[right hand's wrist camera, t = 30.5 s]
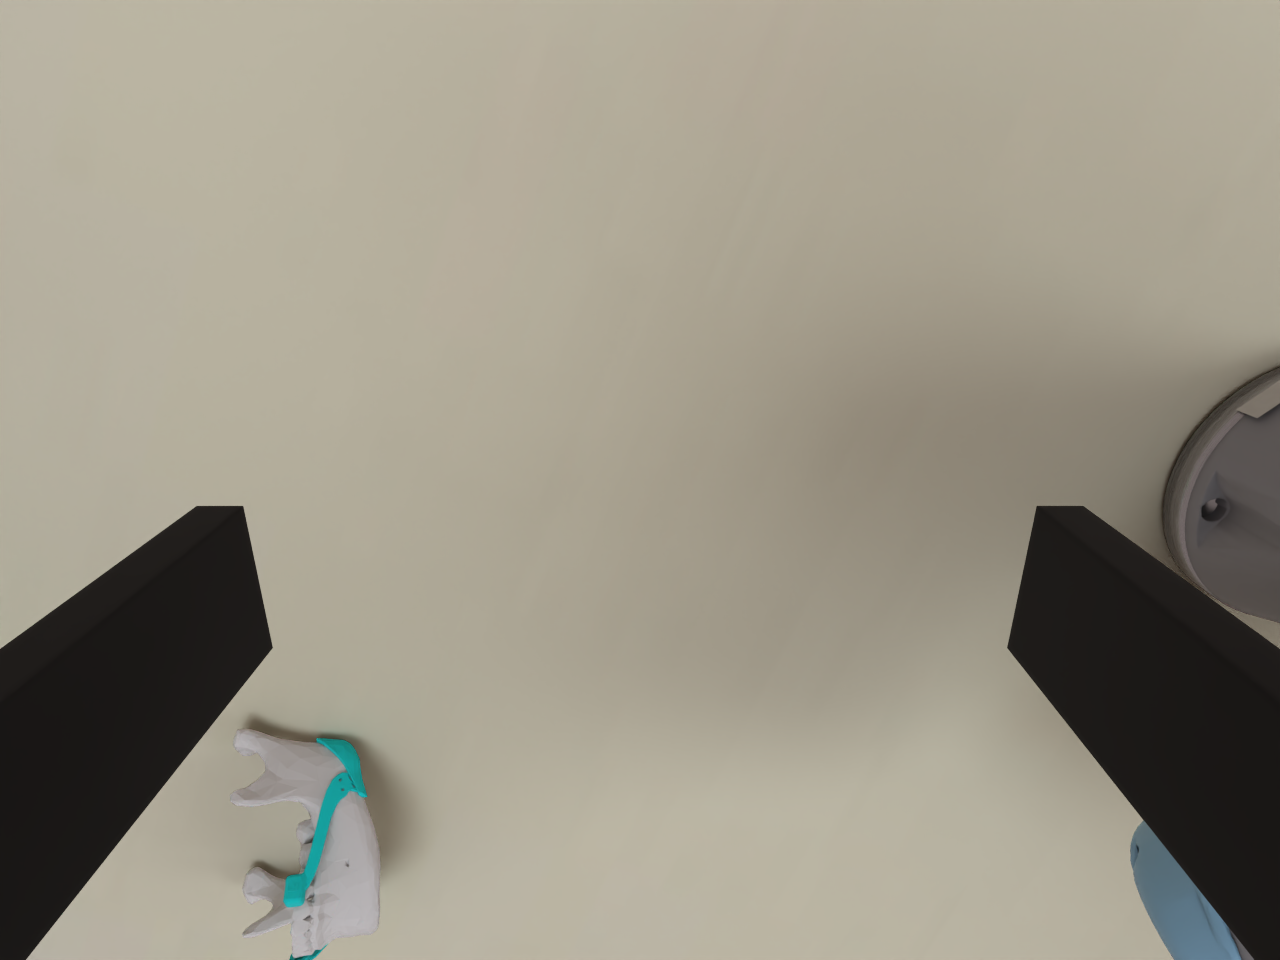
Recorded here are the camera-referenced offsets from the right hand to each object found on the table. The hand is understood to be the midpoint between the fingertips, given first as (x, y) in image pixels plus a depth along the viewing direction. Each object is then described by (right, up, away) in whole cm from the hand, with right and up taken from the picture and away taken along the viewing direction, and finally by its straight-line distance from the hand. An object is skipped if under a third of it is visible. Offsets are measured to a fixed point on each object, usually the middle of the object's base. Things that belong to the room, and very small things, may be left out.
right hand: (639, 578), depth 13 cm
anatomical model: (-21, -21, +39) cm, 49 cm away
